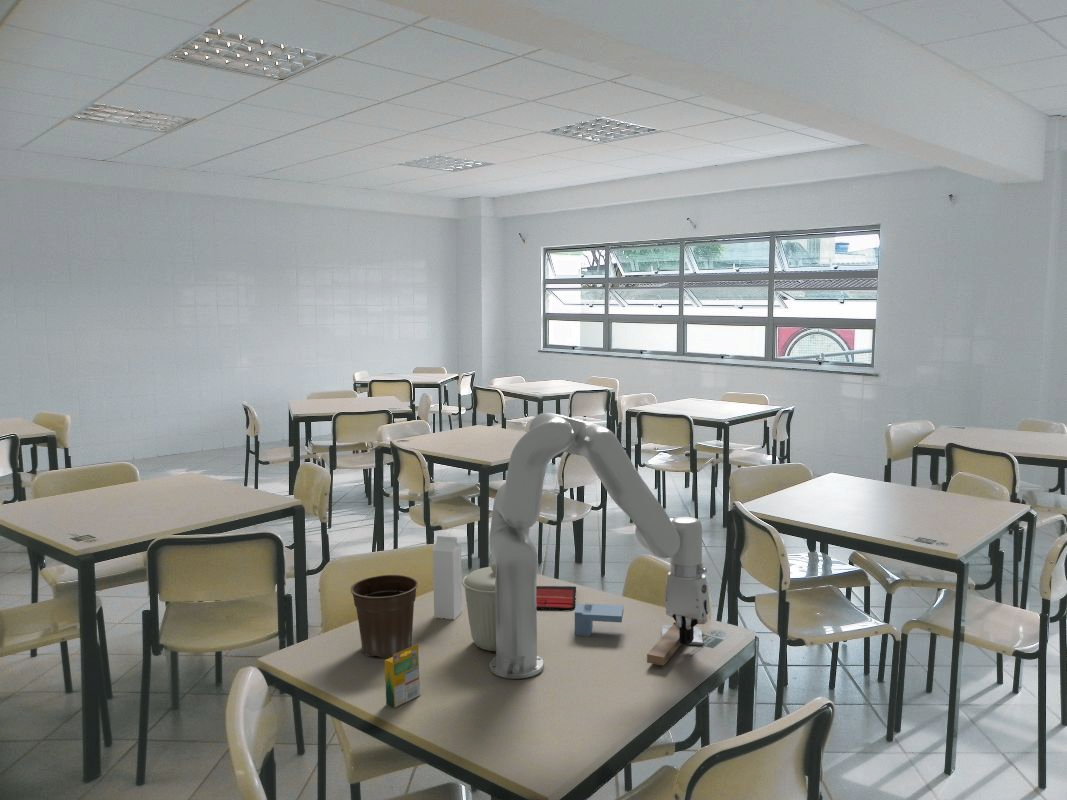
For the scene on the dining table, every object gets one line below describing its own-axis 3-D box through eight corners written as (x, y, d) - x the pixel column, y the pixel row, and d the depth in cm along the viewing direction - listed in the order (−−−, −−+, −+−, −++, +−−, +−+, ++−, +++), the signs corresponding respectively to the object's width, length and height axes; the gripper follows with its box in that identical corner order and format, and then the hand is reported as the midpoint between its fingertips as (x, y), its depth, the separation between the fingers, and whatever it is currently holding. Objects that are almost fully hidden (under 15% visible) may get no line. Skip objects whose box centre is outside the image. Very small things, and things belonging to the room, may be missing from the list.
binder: (506, 584, 237) (576, 585, 236) (506, 591, 238) (576, 592, 236) (500, 605, 222) (575, 606, 220) (500, 613, 222) (575, 615, 220)
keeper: (621, 639, 200) (621, 616, 199) (574, 636, 202) (574, 613, 201) (623, 627, 208) (623, 605, 207) (577, 624, 210) (577, 602, 209)
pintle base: (702, 645, 196) (702, 642, 196) (661, 643, 197) (661, 640, 197) (701, 630, 205) (701, 627, 205) (662, 627, 207) (662, 624, 207)
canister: (451, 654, 192) (449, 569, 190) (478, 626, 210) (477, 548, 207) (522, 662, 187) (521, 575, 185) (544, 633, 204) (543, 553, 202)
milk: (442, 610, 222) (440, 533, 220) (462, 612, 220) (461, 534, 218) (433, 618, 216) (431, 538, 214) (454, 620, 214) (452, 540, 212)
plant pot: (372, 668, 185) (370, 601, 183) (341, 647, 197) (339, 584, 196) (432, 649, 195) (430, 586, 193) (398, 630, 207) (397, 570, 206)
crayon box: (411, 691, 173) (409, 640, 172) (420, 695, 171) (419, 643, 170) (385, 704, 167) (383, 651, 166) (394, 708, 166) (393, 654, 164)
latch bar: (676, 628, 204) (676, 612, 204) (692, 631, 202) (693, 615, 202) (646, 663, 184) (646, 645, 183) (664, 666, 182) (664, 649, 181)
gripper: (721, 570, 188) (722, 645, 190) (667, 559, 198) (667, 630, 200) (706, 579, 183) (706, 655, 185) (651, 567, 192) (651, 640, 194)
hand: (686, 642), depth 192 cm, fingers closed
